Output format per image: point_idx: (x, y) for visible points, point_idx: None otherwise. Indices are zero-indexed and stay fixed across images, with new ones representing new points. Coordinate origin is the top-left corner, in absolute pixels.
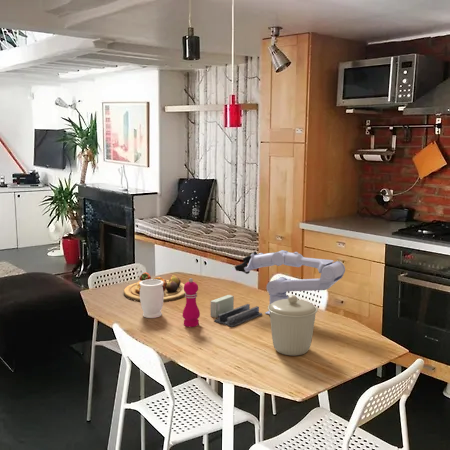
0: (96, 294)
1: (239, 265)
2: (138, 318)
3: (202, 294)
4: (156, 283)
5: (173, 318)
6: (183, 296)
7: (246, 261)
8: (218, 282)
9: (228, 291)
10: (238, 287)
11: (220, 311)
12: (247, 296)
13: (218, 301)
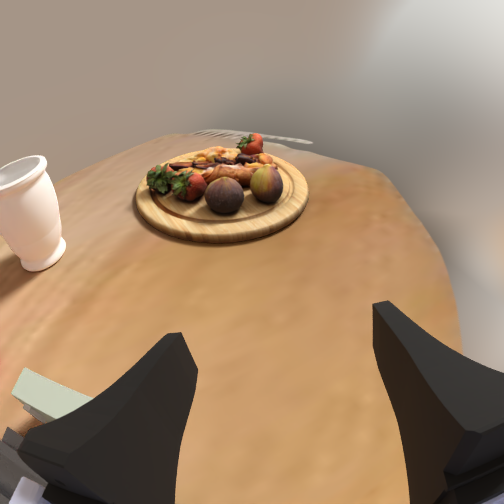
0: (158, 145)
1: (106, 391)
2: None
3: (281, 272)
4: (43, 176)
5: (23, 305)
6: (221, 242)
7: (382, 361)
8: (412, 254)
9: None
10: (432, 321)
11: None
12: (379, 414)
13: (24, 402)
